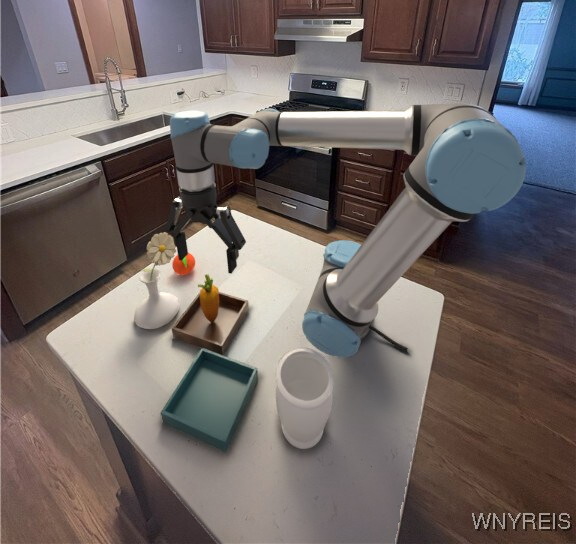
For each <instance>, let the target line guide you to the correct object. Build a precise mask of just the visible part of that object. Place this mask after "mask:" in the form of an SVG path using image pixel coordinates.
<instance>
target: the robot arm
mask: <svg viewBox="0 0 576 544" xmlns="http://www.w3.org/2000/svg"><path fill="white" fill-rule="evenodd" d="M169 130H170V136H169V137H170V140H171V145H172V150H173V156H174V161H175V170H176V178H177V185H178V187H179V196H178V197H176V198H175V199H173V200H172V201H171V202H170V211H169V214H168V218H167V221H166V224H165V225H164V229H163V231H164V232H165V233H168V234H170V236H171V237H173V240H174V245H175V246H176V253H177V255H178V258H179V260H181V261H182V260H183V259H184V258H185V257H186V256H187V255H188V253H189V250H188V249H189V248H188V244H187V243H188V242H187V237H186V232H185V231H183V230H184V229H185V227H186V226H187V225H188V224H189V223H190V221H192V222H193V223H197V224H198V223H200V224H202V225H206V226H207V227H208V228H209V229H212V230H213V231H214V232H215V234H216V235H217V236H218V237H219V238H220V240H221V241H222V242H223V243H224V245H225V246H226V247H227V249H226V250H225V253H226V261H227V273H228V274H229V275H230V274H233V272H234V271H235V270H236V269H237V267H238V263H237V260H238V259H239V257H240V253H239V252H240V251H241V250H242V249H243V247H244V246H245V245H246V243H247V240H246V238H245V236H244V235H243V233H242V231H241V229H240V228H239V226H238V224H237V222H236V220H235V218H234V217H233V215H232V210H231V207H230V206H229V205H225V206H223V207H220V206H218V204H217V196H218V195H217V185H216V182H215V181H216V177H215V167H214V164H217V165H222V166H228V167H234V168H239V169H244V170H245V169H253V170H258V169H260V168H262V167H263V166H264V165H265V163H266V160H267V159H268V157H269V152H270V146H273V147H274V146H275V147H309V148H313V147H314V148H338V149H339V148H340V149H370V150H372V149H373V150H400V151H404V152H405V153H406V154H408V155H409V156H415V158H414V159H413V161H412V162H411V163H410V164H409V166H408V167H407V169H406V170H405V171H404V173H403V175H402V177H403V181H404V185H405V188H404V189H403V190H402V191H401V192H400V194H398V196H397V198H396V199H395V200H394V202H393V203H392V204H391V206H390V207H389V208H388V210H387V211H386V213H384V214H383V216H382V217H381V219H380V220H379V222H378V223H376V225H375V227H374V228H373V229H372V230H371V232H370V233H369V234H368V235H367V236H366V238H365V240H364V241H363V242H362V244H361V243H359V242H356V241H352V240H345V239H339V240H333V241H331V242H329V243H328V244H327V245H326V247H325V249H324V252H323V263H322V268H321V270H320V273H319V276H318V280H317V281H316V284H315V286H314V289H313V292H312V294H311V297H310V300H309V303H308V305H307V308H306V311H305V312H304V313H303V319H302V333H303V335H304V336H305V338H306V340H307V341H308V342H309V344H310V345H312V346H313V347H314V348H315V349H317V350H318V351H320V352H321V353H323V354H325V355H328V356H331V357H336V358H342V359H345V358H350V357H352V356H355V354H357V352H358V350H359V347H360V345H361V343H362V340H364V338H365V337H366V336H367V335H368V334H369V332H370V330H371V331H372V332H374V333H375V334H377V335H379V336H380V337H382V338H383V339H384V340H386V341H387V342H388V343H390V344H391V345H393V346H395V347H397V348H398V349H400V350H402V351H404V352H406V353H407V352H408V349H409V348H408V347H406V346H404V345H402V344H400V343H398V342H397V341H395V340H394V339H392V338H391V337H389V336H388V335H387V334H385V333H383V332H382V331H380V330H379V329H377V328H376V327H375V326H373V325H372V322H373V320H375V318H376V317H377V315H378V314H379V301H380V300H381V299H382V298H383V297H384V296H385V295H386V294H387V292H388V291H389V290H390V289H391V288H393V286H394V285H395V284H396V283H397V282H398V281H399V280H400V278H401V277H402V276H404V274H405V273H406V272H407V271H408V270H409V269H410V268H411V267H412V266H413V264H414V263H415V262H417V260H418V259H419V258H420V257H421V256H422V255H423V254H424V252H425V251H426V250H428V248H429V247H430V246H431V245H432V244H433V243H434V242H435V241H436V240H437V239H438V238H439V236H441V234H442V233H443V232H444V231H445V230H446V229H447V228H448V227H449V226H450V225H451V224H452V223H453V222H461V223H465V222H468V221H470V220H471V219H472V218H473V217H474V216H475V215H476V214H481V212H485V211H487V212H491V211H495V210H497V209H499V208H501V207H503V206H504V205H506V204H508V202H510V201H512V199H513V198H514V197H515V196H516V195H517V194H518V193H519V191H520V189H521V188H522V185H524V184H523V183H524V180H525V178H526V174H527V173H526V172H527V164H526V157H525V153H524V151H523V149H522V147H521V145H520V143H519V141H518V139H517V137H516V136H515V135H514V134H513V132H511V130H509V129H508V128H506V127H505V126H504V125H503V124H502V123H501V122H500V121H499V120H498V119H497V118H496V117H495V116H494V114H492V113H491V112H490V111H488V110H487V109H485V108H484V107H482V106H480V105H479V106H478V105H475V104H472V103H463V102H453V103H452V102H451V103H431V104H430V103H429V104H411V105H410V106H409V107H408V108H407V109H405V110H342V111H341V110H339V111H338V110H335V111H329V110H328V111H327V110H326V111H279V110H277V109H276V108H265V109H260V110H259V111H257V112H255V113H254V114H251V116H249V117H247V118H245V119H243V120H242V121H241V120H240V122H238V123H235V124H234V125H231V126H228V125H217V124H212V123H211V121H210V118H209V114H208V113H207V112H205V111H202V110H185V111H179V112H177V113H173V115H171V116H170V118H169ZM182 209H183V211H184V212H185V215H184V217H183V218H182V219H181V221H180V222H179V223H178V219H179V217H180V214H181V212H182ZM213 219H214V220H213ZM212 220H213V221H212ZM177 223H178V224H177ZM176 225H177V226H176Z"/></svg>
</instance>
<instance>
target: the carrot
mask: <svg viewBox="0 0 576 544" xmlns="http://www.w3.org/2000/svg"><path fill="white" fill-rule="evenodd" d="M204 277H205V280H204V284H198V285H197V287H198V288H201V289H200V290H199V293H200V304H201V308H202V311H203V313H204V316H205V317H206V318H207V320H209V321H210V322H211V323H213V322H214V321H215V320H216V318H217V315H218V311H219V292H220V290H219V287H217V286H216V285H214V284H213V283H214V278H211V277H210V275H209V274H207V273H206V274H204Z"/></svg>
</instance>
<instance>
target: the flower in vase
mask: <svg viewBox="0 0 576 544" xmlns="http://www.w3.org/2000/svg"><path fill="white" fill-rule="evenodd" d="M176 253H177V247H176V246H175V245H174V240H173V236H172V235H171V234H169V233H166V232H165V231H164V232H160V233H155V234H153V236H152V237H151V239H150V241H148V242H147V245H146V255H147V260H148V261H149V262H150V263H151V264H153V266H152V268H144V269H142V270H140V272H142V273H141V274H140V275H139V279H138V280H139V281H140V282H141V283H143V284H144V285H145V286H146V288H147V292H148V296H147V297H145V298H144V299H143V300H142V301H140V303H139V304H138V305H137V307H136V309H135V310H134V311H135V312H134V314H133V320H134V322H135V324H136V326H138V327H139V328H142V329H145V330H156V329H159V328H162V327H164V326H166V325H168V324H169V323H170V322H171V321H173V320H174V318H175V317H176V316H177V314H178V312H179V310H180V301H179V299H178V298H177V297H176V296H175V294H173V293H171V292H165V291H160V292H159V288H158V280H159V279H160V277H161V271H160V269H158V268H155V267H157V266H164V265H167V264H169V263H171V260H172V259H174V258H175V254H176Z"/></svg>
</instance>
